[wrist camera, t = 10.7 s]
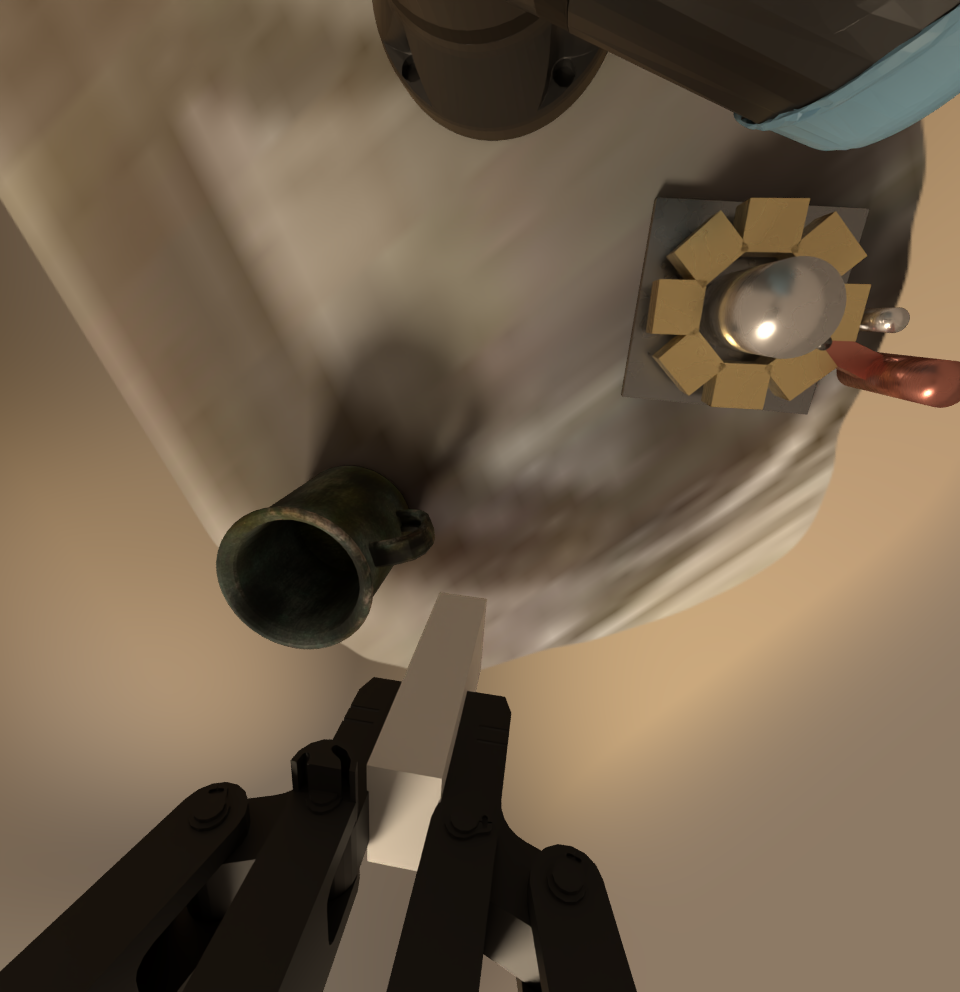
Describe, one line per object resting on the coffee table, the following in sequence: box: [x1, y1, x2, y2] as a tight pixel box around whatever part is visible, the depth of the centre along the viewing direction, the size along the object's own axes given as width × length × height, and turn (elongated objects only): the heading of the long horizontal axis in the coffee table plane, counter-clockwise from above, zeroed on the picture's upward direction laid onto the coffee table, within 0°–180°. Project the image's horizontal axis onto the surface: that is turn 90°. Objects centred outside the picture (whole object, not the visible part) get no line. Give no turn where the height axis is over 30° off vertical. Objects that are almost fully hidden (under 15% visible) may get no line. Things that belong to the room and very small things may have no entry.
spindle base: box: [621, 197, 910, 414], centre depth 31 cm, size 13×15×10 cm
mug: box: [216, 466, 435, 649], centre depth 39 cm, size 11×15×12 cm
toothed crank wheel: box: [646, 198, 960, 410], centre depth 30 cm, size 16×12×8 cm
